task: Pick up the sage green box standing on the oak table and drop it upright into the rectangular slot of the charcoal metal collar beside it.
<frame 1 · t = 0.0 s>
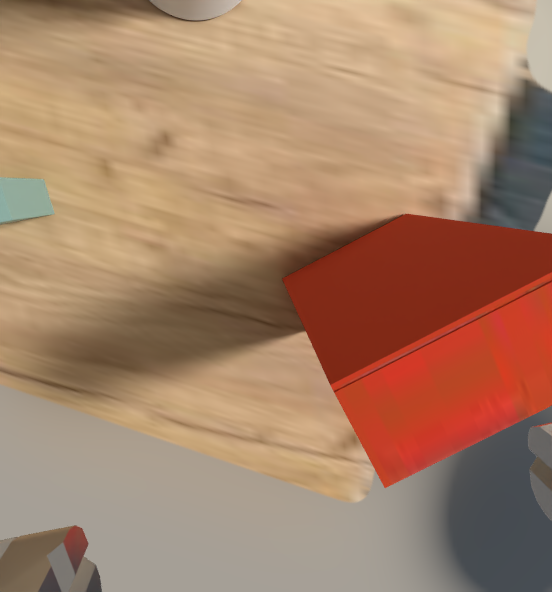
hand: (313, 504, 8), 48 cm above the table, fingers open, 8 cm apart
sage green box: (23, 201, 52), on the table
file binder: (355, 271, 57), on the table
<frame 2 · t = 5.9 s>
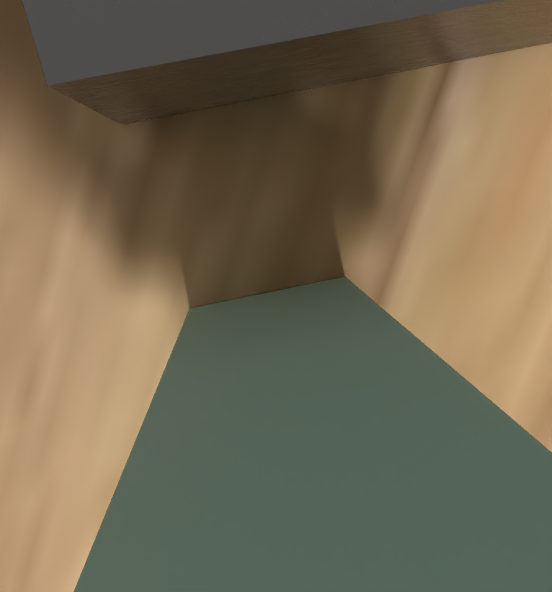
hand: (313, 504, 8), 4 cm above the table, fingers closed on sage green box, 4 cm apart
sage green box: (289, 398, 12), on the table, touching gripper
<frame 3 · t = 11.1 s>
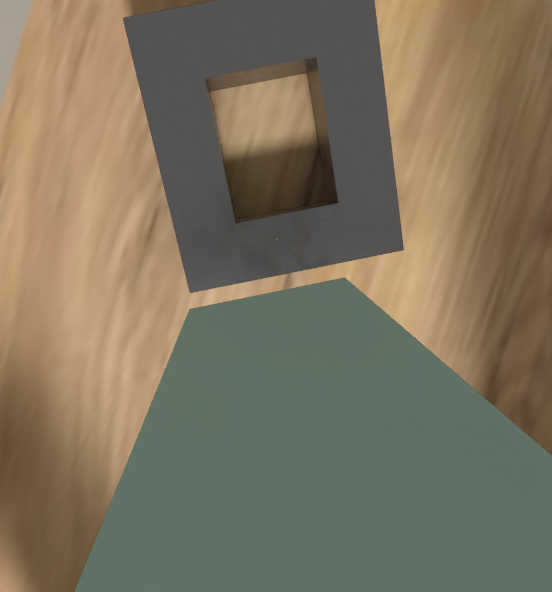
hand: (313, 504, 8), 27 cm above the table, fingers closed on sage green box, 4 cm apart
collar block: (270, 148, 33), on the table
sage green box: (288, 399, 12), point 23 cm above the table, touching gripper
when the fingers open (6 cm above the table, at t = 16.5 s): sage green box drops 1 cm, resting in collar block.
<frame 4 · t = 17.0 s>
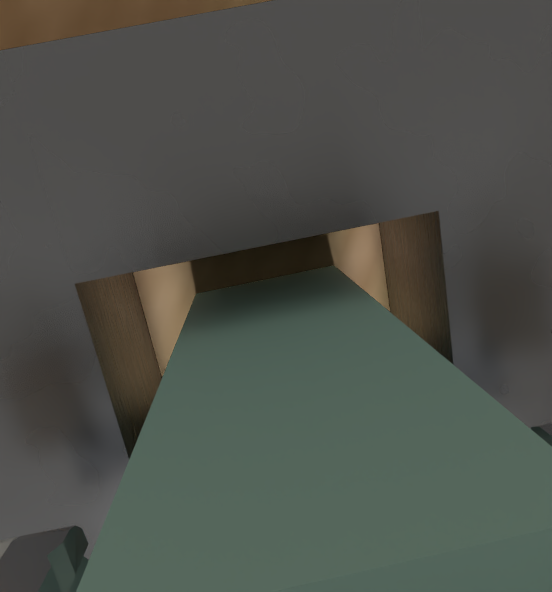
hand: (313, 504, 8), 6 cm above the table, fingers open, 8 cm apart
collar block: (282, 376, 13), on the table
sage green box: (284, 375, 13), resting in collar block
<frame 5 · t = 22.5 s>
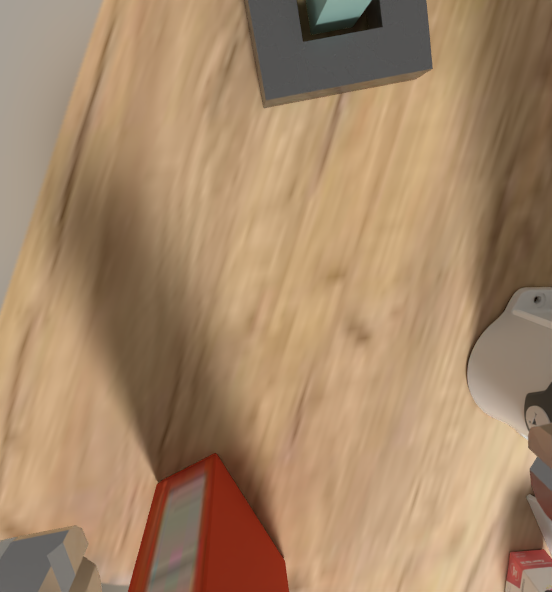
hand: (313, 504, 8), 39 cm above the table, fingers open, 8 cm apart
ink cartridge box: (521, 575, 59), on the table
file binder: (224, 520, 54), on the table
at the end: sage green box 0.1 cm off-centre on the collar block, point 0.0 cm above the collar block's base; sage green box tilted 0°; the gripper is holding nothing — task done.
